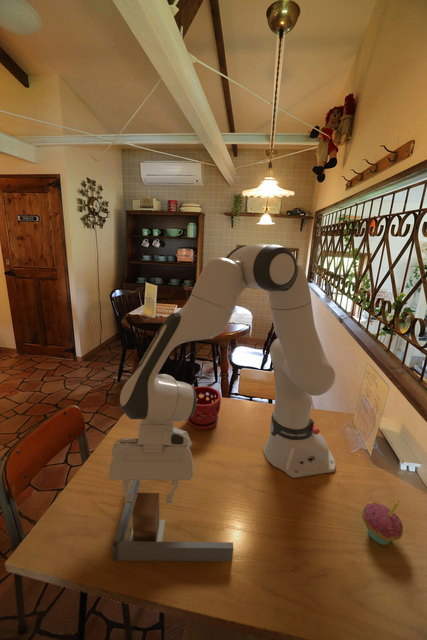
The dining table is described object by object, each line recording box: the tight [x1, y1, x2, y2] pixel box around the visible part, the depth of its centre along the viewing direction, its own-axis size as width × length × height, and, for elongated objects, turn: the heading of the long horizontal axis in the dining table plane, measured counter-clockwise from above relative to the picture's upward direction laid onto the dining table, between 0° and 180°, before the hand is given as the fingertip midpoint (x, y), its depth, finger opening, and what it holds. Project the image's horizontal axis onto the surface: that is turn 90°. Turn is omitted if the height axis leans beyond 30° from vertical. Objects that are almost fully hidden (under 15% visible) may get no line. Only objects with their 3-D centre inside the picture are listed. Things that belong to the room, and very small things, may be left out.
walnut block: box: [131, 492, 160, 542], centre depth 65 cm, size 5×5×10 cm
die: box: [173, 426, 193, 449], centre depth 91 cm, size 8×9×10 cm
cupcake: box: [361, 499, 404, 546], centre depth 67 cm, size 9×8×12 cm
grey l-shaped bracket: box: [111, 480, 234, 562], centre depth 70 cm, size 26×20×4 cm
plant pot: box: [187, 385, 222, 430], centre depth 106 cm, size 13×13×12 cm
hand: (149, 502), depth 65 cm, fingers open, 8 cm apart
